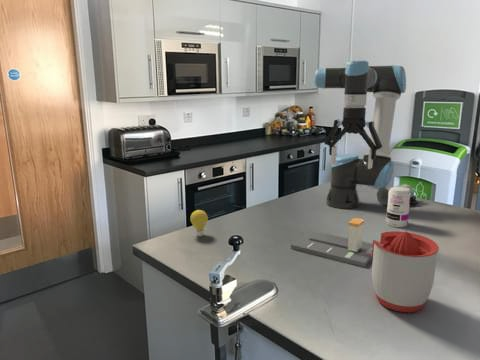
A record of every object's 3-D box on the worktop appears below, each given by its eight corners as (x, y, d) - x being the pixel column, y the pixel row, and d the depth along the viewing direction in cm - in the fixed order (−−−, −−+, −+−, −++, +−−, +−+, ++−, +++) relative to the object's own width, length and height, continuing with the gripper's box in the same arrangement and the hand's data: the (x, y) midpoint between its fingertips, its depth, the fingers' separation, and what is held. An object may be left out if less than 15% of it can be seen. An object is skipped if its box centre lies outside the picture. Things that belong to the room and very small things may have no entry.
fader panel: (310, 233, 152) (310, 229, 152) (379, 249, 138) (379, 245, 137) (290, 248, 139) (290, 244, 139) (364, 267, 125) (364, 262, 124)
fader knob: (352, 244, 137) (354, 217, 135) (362, 246, 135) (364, 219, 133) (347, 249, 133) (348, 222, 130) (356, 252, 131) (358, 224, 128)
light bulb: (187, 236, 151) (186, 211, 148) (197, 230, 157) (196, 206, 154) (202, 239, 148) (201, 214, 145) (211, 233, 154) (211, 209, 151)
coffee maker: (378, 180, 185) (407, 177, 192) (371, 195, 190) (399, 191, 197) (399, 200, 174) (429, 196, 181) (391, 215, 179) (421, 210, 186)
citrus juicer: (375, 279, 118) (380, 215, 113) (438, 298, 107) (447, 229, 102) (353, 301, 106) (357, 232, 101) (421, 326, 95) (430, 249, 90)
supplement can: (404, 221, 164) (407, 186, 160) (410, 228, 156) (414, 191, 152) (383, 220, 165) (386, 185, 161) (389, 227, 157) (392, 191, 153)
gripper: (317, 106, 143) (315, 164, 148) (388, 108, 129) (383, 172, 134) (325, 105, 149) (323, 160, 154) (394, 107, 135) (389, 167, 140)
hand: (351, 166), depth 144 cm, fingers open, 13 cm apart
